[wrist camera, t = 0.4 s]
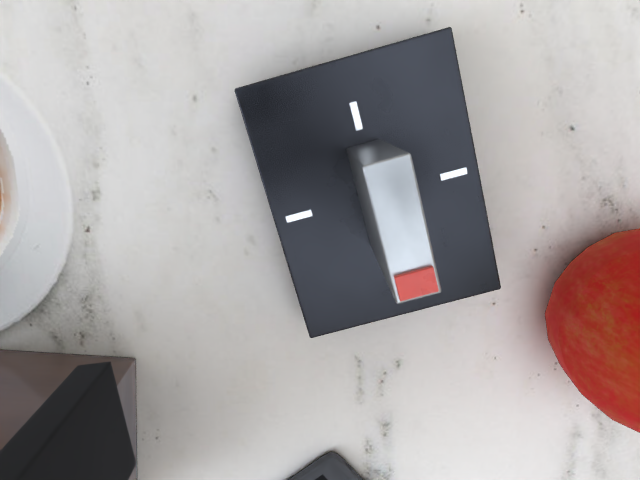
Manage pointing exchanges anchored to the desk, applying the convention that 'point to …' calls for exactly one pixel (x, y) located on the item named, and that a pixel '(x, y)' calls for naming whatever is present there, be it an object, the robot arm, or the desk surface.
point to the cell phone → (328, 469)
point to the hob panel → (338, 183)
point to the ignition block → (55, 387)
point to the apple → (601, 325)
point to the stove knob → (395, 218)
